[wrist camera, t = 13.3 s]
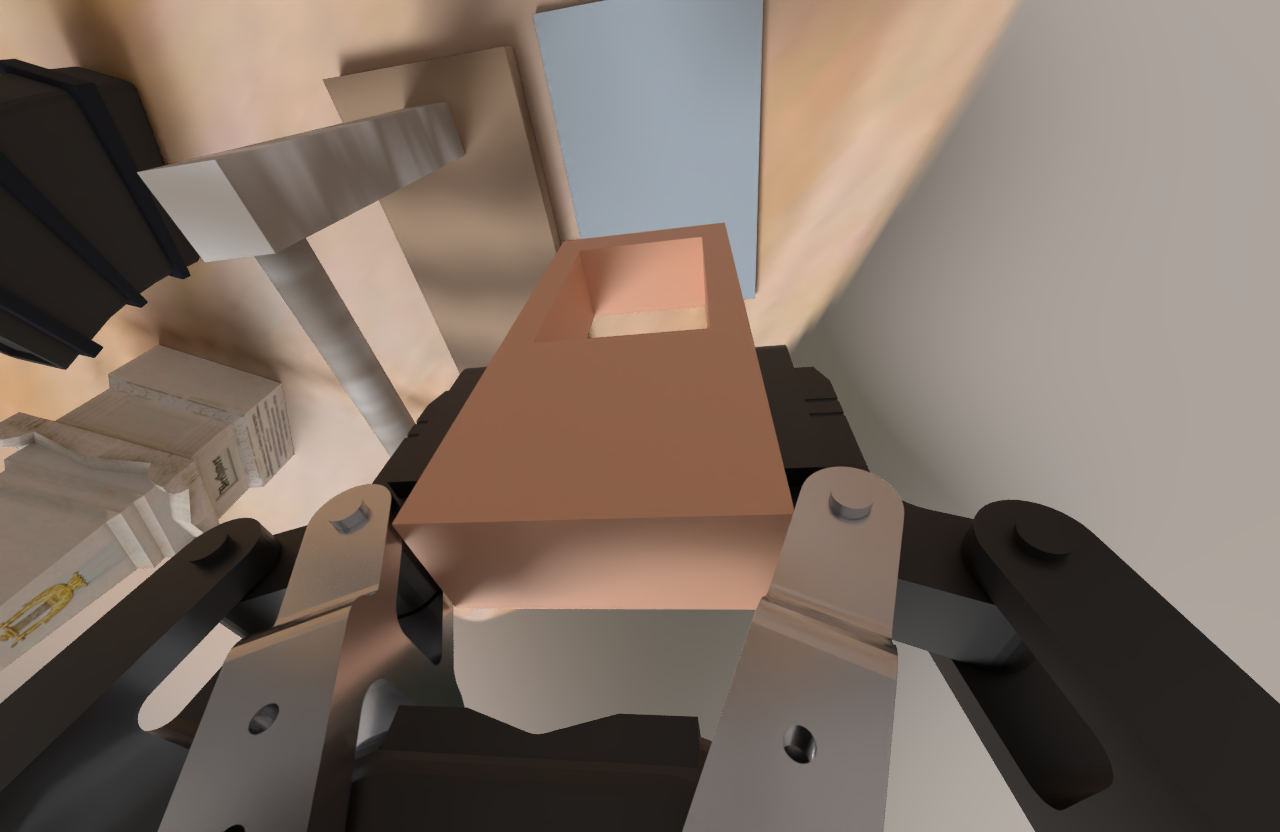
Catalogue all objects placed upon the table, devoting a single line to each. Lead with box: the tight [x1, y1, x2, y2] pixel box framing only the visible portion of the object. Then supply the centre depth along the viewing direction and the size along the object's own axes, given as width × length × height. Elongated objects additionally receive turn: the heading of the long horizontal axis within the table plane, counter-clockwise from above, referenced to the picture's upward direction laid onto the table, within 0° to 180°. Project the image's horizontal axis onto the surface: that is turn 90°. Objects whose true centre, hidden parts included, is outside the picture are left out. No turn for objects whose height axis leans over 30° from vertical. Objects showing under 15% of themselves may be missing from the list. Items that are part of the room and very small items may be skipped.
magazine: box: [0, 59, 199, 370], centre depth 25 cm, size 4×13×15 cm, turn 165°
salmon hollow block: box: [392, 222, 794, 609], centre depth 12 cm, size 2×6×12 cm, turn 97°
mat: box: [533, 0, 763, 299], centre depth 26 cm, size 16×11×1 cm
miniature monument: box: [0, 345, 294, 671], centre depth 30 cm, size 10×10×30 cm
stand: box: [137, 46, 561, 457], centre depth 24 cm, size 22×10×17 cm, turn 8°
